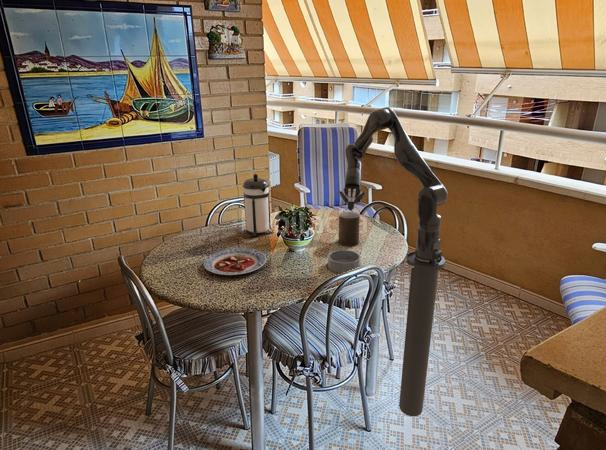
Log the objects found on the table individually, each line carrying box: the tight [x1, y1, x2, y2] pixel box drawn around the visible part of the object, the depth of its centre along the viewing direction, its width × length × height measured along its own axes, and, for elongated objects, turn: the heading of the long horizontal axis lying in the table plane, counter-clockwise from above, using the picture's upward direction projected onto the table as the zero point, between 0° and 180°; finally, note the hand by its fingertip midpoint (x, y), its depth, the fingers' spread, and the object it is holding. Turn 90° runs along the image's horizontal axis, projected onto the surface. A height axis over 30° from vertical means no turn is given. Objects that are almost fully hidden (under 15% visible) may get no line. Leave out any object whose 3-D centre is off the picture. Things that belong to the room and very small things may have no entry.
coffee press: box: [242, 173, 274, 238], centre depth 203 cm, size 17×16×30 cm
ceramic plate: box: [203, 247, 267, 276], centre depth 170 cm, size 26×26×3 cm
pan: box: [327, 249, 362, 274], centre depth 168 cm, size 13×13×4 cm
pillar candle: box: [338, 211, 361, 247], centre depth 191 cm, size 10×10×15 cm
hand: (350, 209), depth 198 cm, fingers closed
